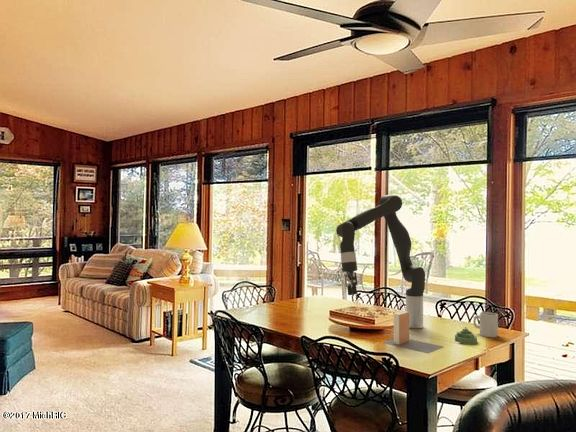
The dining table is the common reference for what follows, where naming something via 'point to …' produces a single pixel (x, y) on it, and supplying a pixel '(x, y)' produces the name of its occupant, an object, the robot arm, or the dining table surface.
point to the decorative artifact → (465, 337)
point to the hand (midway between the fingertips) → (352, 294)
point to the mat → (416, 345)
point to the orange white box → (401, 327)
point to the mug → (487, 324)
